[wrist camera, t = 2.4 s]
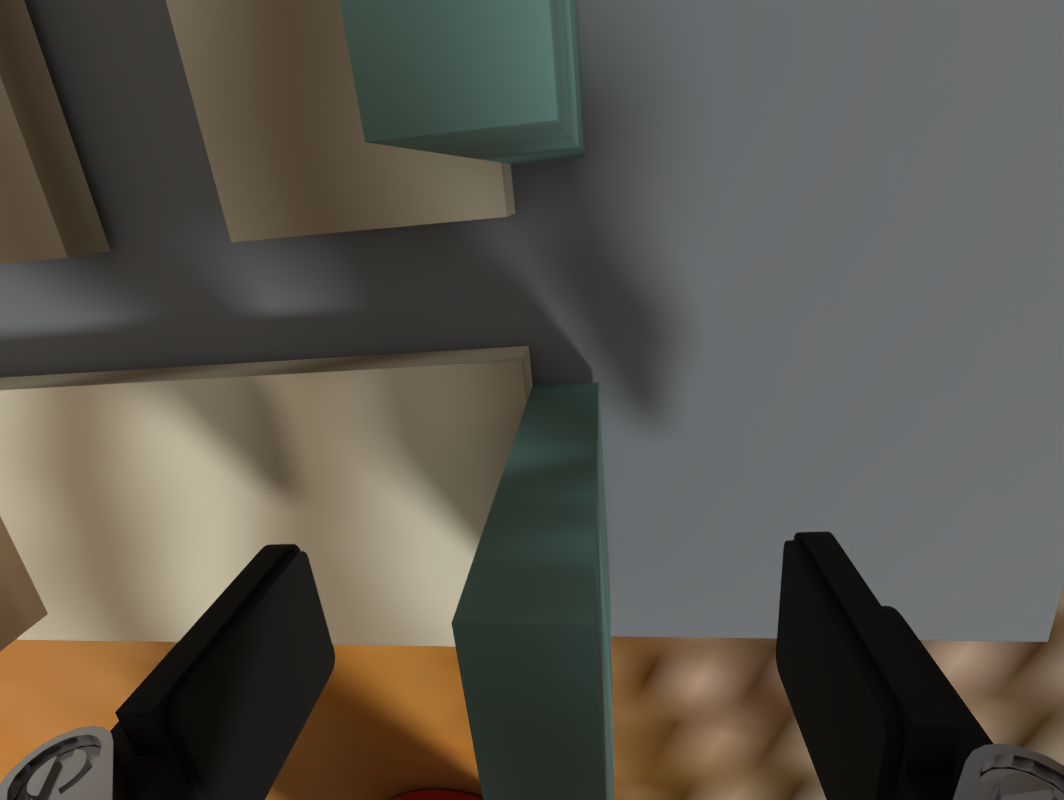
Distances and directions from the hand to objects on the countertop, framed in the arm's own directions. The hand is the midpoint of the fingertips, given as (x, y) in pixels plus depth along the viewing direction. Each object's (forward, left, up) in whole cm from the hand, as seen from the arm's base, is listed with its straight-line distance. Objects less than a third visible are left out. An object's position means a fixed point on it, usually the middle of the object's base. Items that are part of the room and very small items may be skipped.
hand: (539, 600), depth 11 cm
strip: (+11, 0, -4) cm, 12 cm away
